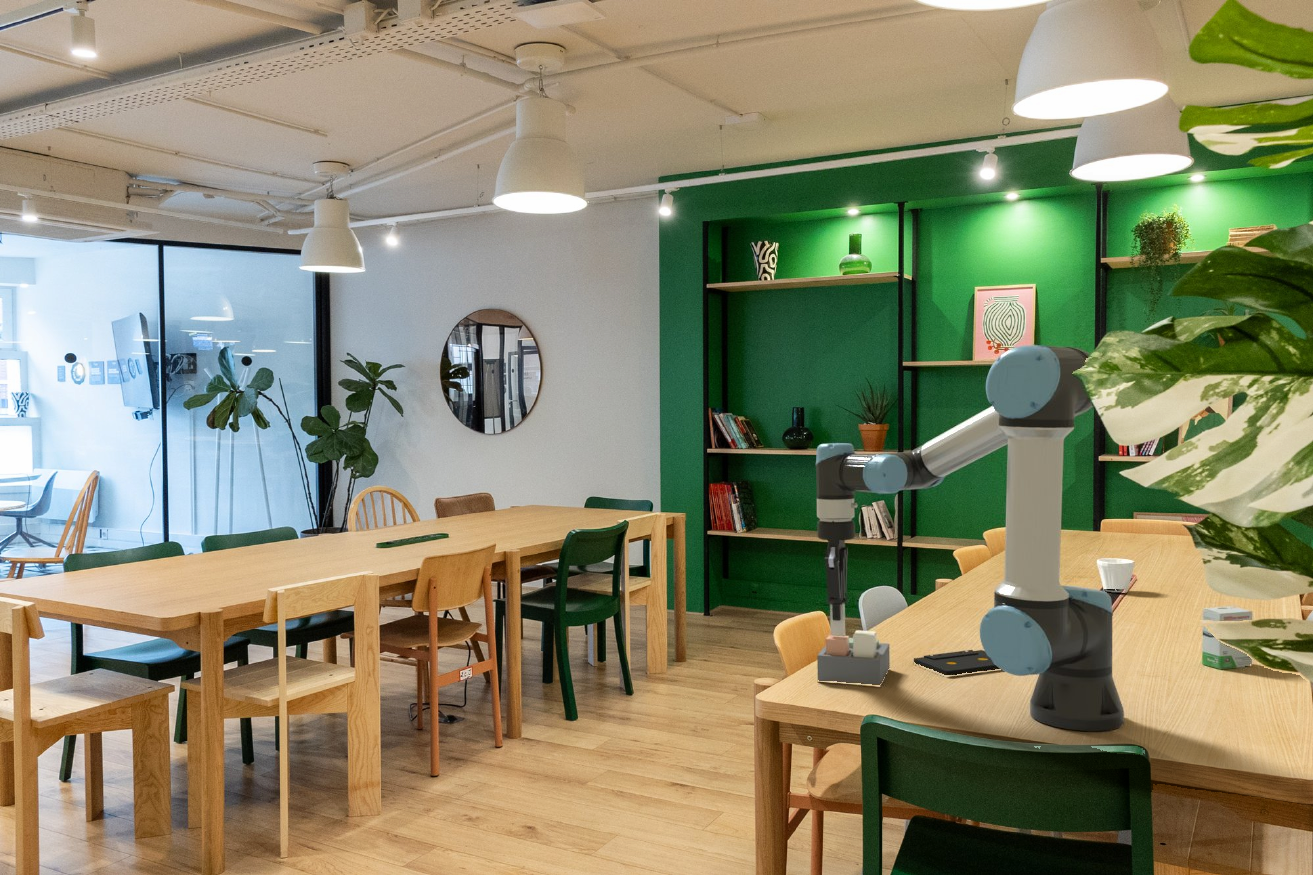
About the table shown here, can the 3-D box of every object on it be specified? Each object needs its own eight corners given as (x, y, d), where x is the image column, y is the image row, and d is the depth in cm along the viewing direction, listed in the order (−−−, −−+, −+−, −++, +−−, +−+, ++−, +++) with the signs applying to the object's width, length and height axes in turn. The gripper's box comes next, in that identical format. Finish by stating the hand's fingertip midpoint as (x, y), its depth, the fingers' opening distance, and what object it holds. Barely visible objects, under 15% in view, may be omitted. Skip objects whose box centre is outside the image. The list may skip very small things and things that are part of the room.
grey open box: (880, 687, 192) (879, 654, 192) (817, 682, 197) (817, 650, 197) (889, 669, 206) (889, 638, 205) (830, 665, 210) (830, 635, 210)
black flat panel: (981, 658, 216) (981, 648, 216) (1018, 670, 205) (1018, 660, 205) (913, 667, 210) (912, 657, 210) (946, 680, 199) (946, 669, 199)
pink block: (846, 669, 196) (845, 640, 196) (826, 668, 198) (825, 638, 198) (849, 665, 200) (849, 635, 200) (829, 663, 201) (829, 634, 201)
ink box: (1220, 670, 201) (1219, 612, 201) (1200, 664, 206) (1200, 608, 205) (1254, 666, 203) (1253, 609, 203) (1234, 660, 208) (1234, 605, 208)
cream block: (873, 665, 194) (873, 635, 194) (853, 664, 196) (853, 634, 196) (876, 660, 198) (876, 631, 198) (856, 659, 199) (856, 630, 199)
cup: (1089, 590, 290) (1089, 559, 289) (1116, 588, 293) (1116, 557, 292) (1114, 596, 280) (1114, 564, 280) (1142, 593, 283) (1142, 562, 283)
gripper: (849, 523, 191) (851, 643, 191) (859, 516, 203) (861, 629, 203) (810, 522, 193) (813, 641, 194) (823, 515, 206) (825, 627, 206)
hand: (837, 635), depth 199 cm, fingers closed
